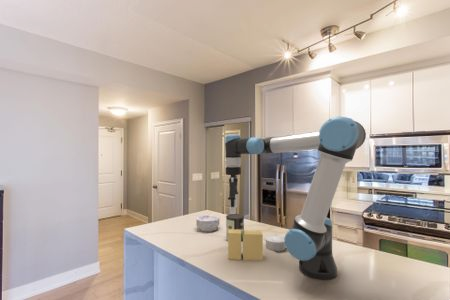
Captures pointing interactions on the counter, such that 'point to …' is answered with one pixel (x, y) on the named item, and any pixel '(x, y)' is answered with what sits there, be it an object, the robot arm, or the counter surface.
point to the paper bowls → (207, 222)
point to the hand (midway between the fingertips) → (233, 210)
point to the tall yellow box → (252, 245)
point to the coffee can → (235, 223)
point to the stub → (234, 244)
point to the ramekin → (275, 242)
